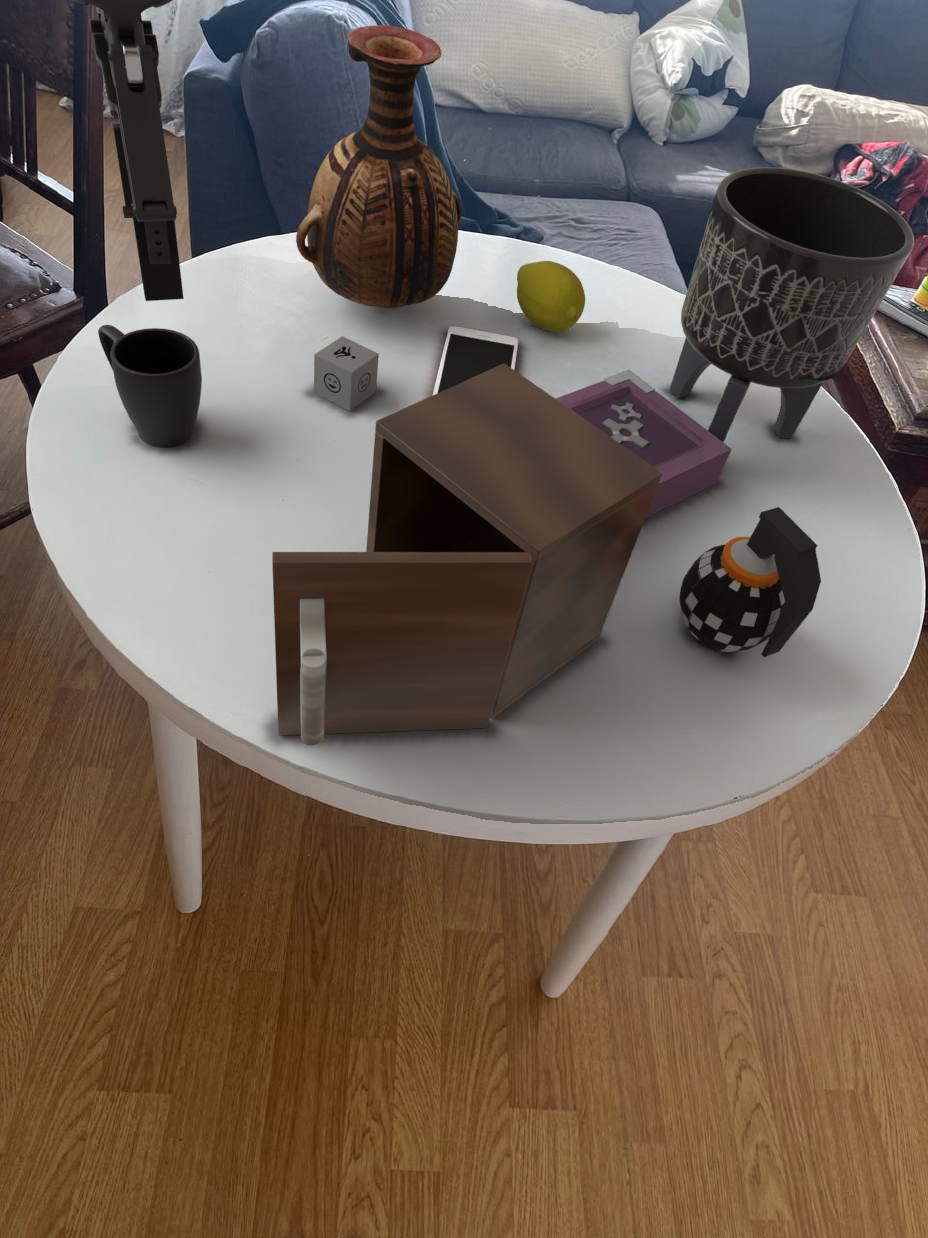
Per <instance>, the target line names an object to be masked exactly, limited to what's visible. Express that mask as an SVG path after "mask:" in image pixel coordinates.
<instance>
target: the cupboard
mask: <svg viewBox="0 0 928 1238" xmlns="http://www.w3.org/2000/svg"><path fill="white" fill-rule="evenodd" d="M373 442H374V444H373V456H372V457H373V458H372V471H371V482H370V494H369V495H370V497H369V510H368V523H367V537H366V548H365V552H530V554H531V558H532V562H533V563H532V567H531V570H530V574H529V578H528V581H527V585H526V588H525V592H524V596H523V599H522V603H521V607H520V610H519V614H518V618H517V621H516V625H515V628H514V632H513V636H512V639H511V643H510V647H509V650H508V654H507V658H506V661H505V665H504V668H503V672H502V676H501V679H500V683H499V687H498V690H497V694H496V698H495V701H494V705H493V709H492V712H491V716H490V719H494V718H496V717H497V716H498V715H500V714H501V713H503V712H504V711H505V710H506V709H508V708H509V707H511V706H512V705H514V703H516V702H517V701H519V700H520V699H521V698H523V697H525V695H527V694H528V693H529V692H531V691H532V690H533V689H535V688H536V687H537V686H539V685H540V684H541V683H542V682H544V681H545V680H546V679H548V678H549V677H551V676H553V674H555V673H556V672H557V671H559V670H560V669H562V668H563V667H564V666H566V665H567V664H568V663H569V662H571V661H572V660H573V659H575V658H576V657H578V656H579V655H580V654H581V653H583V652H584V651H586V650H587V649H589V648H590V647H591V646H592V645H594V644H595V643H597V641H599V639H600V636H601V634H602V631H603V629H604V626H605V623H606V620H607V619H608V615H609V613H610V610H611V608H612V605H613V602H614V600H615V598H616V596H617V593H618V590H619V587H620V585H621V582H622V580H623V577H624V575H625V571H626V570H627V568H628V567H627V566H628V564H629V563H630V562H629V561H630V558H631V556H632V553H633V551H634V548H635V546H636V543H637V541H638V539H639V537H640V534H641V531H642V528H643V526H644V523H645V520H646V515H647V513H648V510H649V508H650V505H651V502H652V500H653V497H654V495H655V492H656V490H657V487H658V484H659V482H660V479H661V477H662V474H663V473H662V472H660V471H659V470H657V469H656V468H655V467H653V466H652V465H650V464H649V463H647V462H646V461H644V460H643V459H642V458H640V457H639V456H637V455H636V454H634V453H633V452H631V451H630V450H629V449H627V448H626V447H624V446H623V445H621V444H620V443H619V442H617V441H616V440H614V439H613V438H611V437H610V436H608V435H607V434H606V433H604V432H603V431H601V430H600V429H598V428H597V427H595V426H594V425H593V424H591V423H590V422H588V421H587V420H585V419H584V418H582V417H581V416H580V415H578V414H577V413H575V412H574V411H572V410H571V409H569V408H568V407H567V406H565V405H564V404H562V403H561V402H559V401H558V400H557V399H556V397H554V396H552V395H551V394H550V393H548V392H547V391H545V390H543V389H542V388H540V387H539V386H538V385H537V384H535V383H533V382H532V381H531V380H529V379H528V378H526V377H524V376H523V375H522V374H521V373H519V372H518V371H516V370H515V369H514V370H513V369H512V368H510V367H509V366H508V365H506V364H502V365H499V366H497V367H495V368H493V369H491V370H488V371H486V372H484V373H482V374H479V375H477V376H475V377H473V378H471V379H468V380H466V381H464V382H462V383H459V384H457V385H455V386H453V387H451V388H448V389H446V390H444V391H442V392H439V393H437V394H435V395H433V394H432V395H431V396H428V397H426V398H424V399H422V400H420V401H418V402H415V403H412V404H411V405H409V406H406V407H403V408H402V409H400V410H398V411H395V412H393V413H391V414H387V415H386V416H384V417H382V418H380V419H377V420H376V421H375V430H374V441H373Z"/></svg>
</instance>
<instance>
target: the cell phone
mask: <svg viewBox="0 0 928 1238" xmlns="http://www.w3.org/2000/svg"><path fill="white" fill-rule="evenodd" d="M446 333H447V334H446V338H445V342H444V346H443V351H442V355H441V358H440V363H439V367H438V371H437V376H436V380H435V384H434V388H433V392H432V396H433V395H435V394H437V393H439V392H442V391H444V390H446V389H448V388H451V387H453V386H455V385H457V384H459V383H462V382H464V381H466V380H468V379H471V378H473V377H475V376H477V375H479V374H482V373H484V372H486V371H488V370H491V369H493V368H495V367H497V366H499V365H502V364H506V365H508V366H509V367H510V368H512V369H513V370H515V369H516V363H517V354H518V348H519V338H518V337H514V336H511V335H505V334H499V333H493V332H490V331H489V332H488V331H483V330H477V329H473V328H467V327H461V326H454V325H451V326H449V327H448V330H447V332H446Z"/></svg>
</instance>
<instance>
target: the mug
mask: <svg viewBox="0 0 928 1238" xmlns="http://www.w3.org/2000/svg"><path fill="white" fill-rule="evenodd" d="M97 333H98V339H99V343H100V345H101V349H102V350H103V352H104V355H105V357H106V359H107V361H108V364H109V366H110V368H111V370H112V371H113V378H114V382H115V386H116V390H117V393H118V396H119V398H120V401H121V403H122V406H123V408H124V409H125V412H126V414H127V416H128V417H129V420H130V421H131V423H132V425H133V426H134V428H135V430H136V432H137V434H138V437H139V438H140V439H141V440H142V441H143V442H145V443H146V444H148V445H150V446H154V447H159V448H170V447H171V448H172V447H176V446H180V445H182V444H184V443H186V442H188V441H189V440H190V439H191V438H192V436H193V434H194V432H195V431H194V430H195V425H196V422H197V418H198V414H199V409H200V403H201V396H202V386H203V385H202V382H203V381H202V380H203V378H202V377H203V376H202V367H201V366H202V365H201V356H200V349H199V347H198V344H197V343H196V342H195V341H194V339H192V338H191V337H189V335H187V334H184V333H182V332H180V331H177V330H173V329H168V328H159V327H156V328H155V327H153V328H152V327H151V328H142V329H137V330H133V331H130V332H127V333H124V332H122V331H121V330H120V329H119V328H117V327H116V326H114V325H111V324H103V325H101V326H99V328H98V330H97Z"/></svg>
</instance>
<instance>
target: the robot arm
mask: <svg viewBox="0 0 928 1238" xmlns="http://www.w3.org/2000/svg"><path fill="white" fill-rule="evenodd" d="M72 1H73V2H75V3H78V4H81V5H84V6H88V5H91V6H93V7H96V14H97V18H88V23H89V29H90V36H91V41H92V46H93V48H94V53H95V59H96V62H97V65H98V66H99V68H100V70H101V71H102V76H103V82H104V83H103V84H104V88H105V95H106V99H107V103H108V106H109V111H110V116H111V117H112V119H113V121H118V123H112V129H113V136H114V142H115V149H116V155H117V160H118V168H119V174H120V181H121V187H122V194H123V200H124V205H122V213H123V214H122V215H123V218H124V219H132V222H133V223H132V224H133V229H134V235H135V243H136V248H137V255H138V256H137V257H138V262H139V268H140V276H141V283H142V289H143V296H144V300H145V302H155V301H172V300H174V301H175V300H184V298H185V297H184V290H183V280H182V273H181V263H180V256H179V247H178V238H177V230H176V219H177V215H178V209H177V206H176V205H175V202H174V196H173V189H172V182H171V176H170V169H169V168H170V167H169V162H168V155H167V148H166V142H165V135H164V134H165V133H164V128H163V122H162V115H161V108H162V100H163V96H162V89H161V83H160V76H159V69H158V67H159V62H160V61H159V59H160V52H159V45H158V40H157V35H156V34H154V31H153V25H152V21H151V20H145V19H142V18H143V17H142V13H143V12H145V11H146V10H148V9H150V8H156V9H157V8H161V7H163V6H165V5H167V4H169V3H171V2H173V0H72Z"/></svg>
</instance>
